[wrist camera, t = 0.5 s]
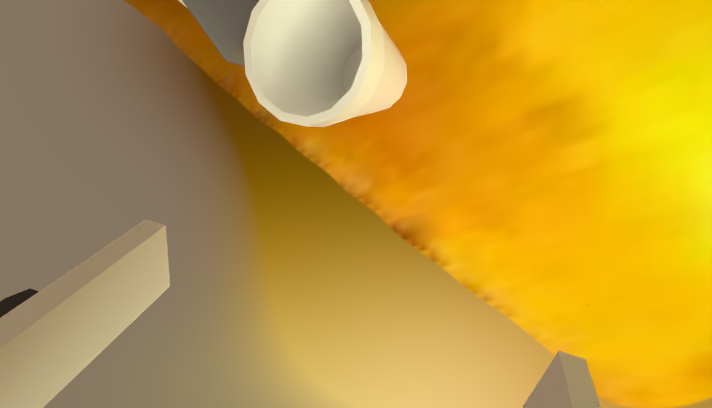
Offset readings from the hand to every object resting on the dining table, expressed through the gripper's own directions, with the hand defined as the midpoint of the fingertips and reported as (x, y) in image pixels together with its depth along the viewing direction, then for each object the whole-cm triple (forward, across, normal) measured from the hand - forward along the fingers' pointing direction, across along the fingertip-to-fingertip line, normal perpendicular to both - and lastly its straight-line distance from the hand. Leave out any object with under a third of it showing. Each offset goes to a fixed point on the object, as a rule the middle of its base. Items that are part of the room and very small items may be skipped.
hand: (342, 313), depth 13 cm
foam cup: (+28, -5, +2) cm, 29 cm away
